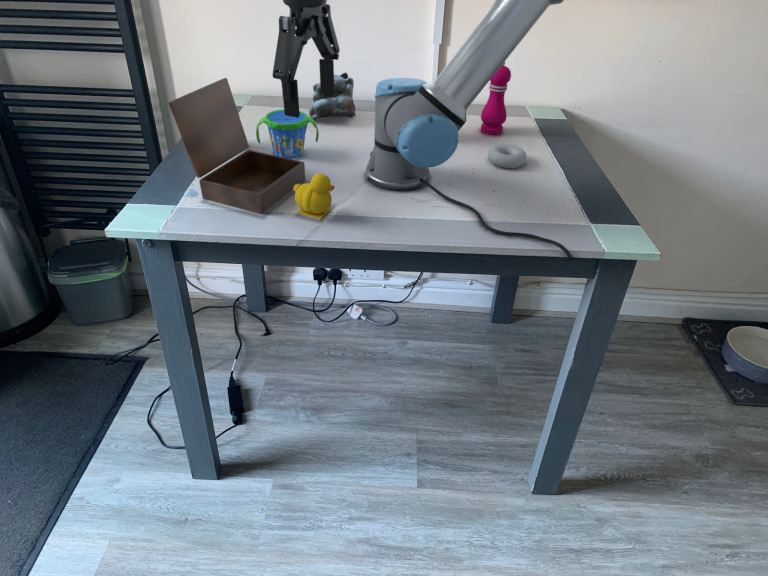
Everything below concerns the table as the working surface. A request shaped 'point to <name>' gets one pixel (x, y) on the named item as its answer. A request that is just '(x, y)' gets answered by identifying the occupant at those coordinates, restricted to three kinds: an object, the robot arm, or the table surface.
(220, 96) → the lid
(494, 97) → the pepper mill
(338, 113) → the lucky cat figurine
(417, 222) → the table surface
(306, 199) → the duck
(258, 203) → the chest
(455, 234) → the table surface
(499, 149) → the donut
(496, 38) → the robot arm
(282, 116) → the snack cup
